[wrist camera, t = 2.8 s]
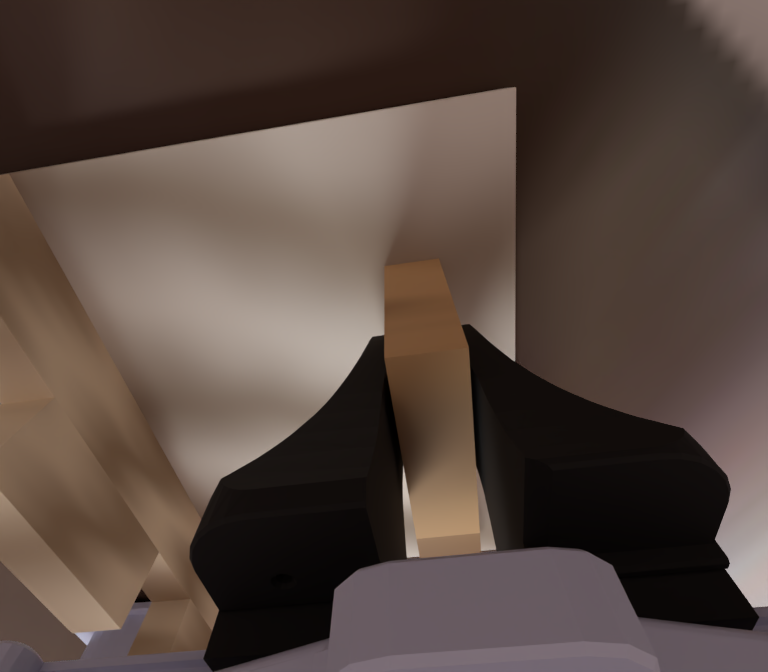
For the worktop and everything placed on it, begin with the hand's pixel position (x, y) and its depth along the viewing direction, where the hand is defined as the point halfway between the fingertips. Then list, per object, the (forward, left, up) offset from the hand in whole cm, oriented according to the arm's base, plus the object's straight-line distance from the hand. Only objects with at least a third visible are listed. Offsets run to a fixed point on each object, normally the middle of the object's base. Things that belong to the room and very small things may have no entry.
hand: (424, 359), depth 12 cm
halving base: (-3, +7, -2) cm, 8 cm away
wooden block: (-5, 0, -1) cm, 5 cm away
